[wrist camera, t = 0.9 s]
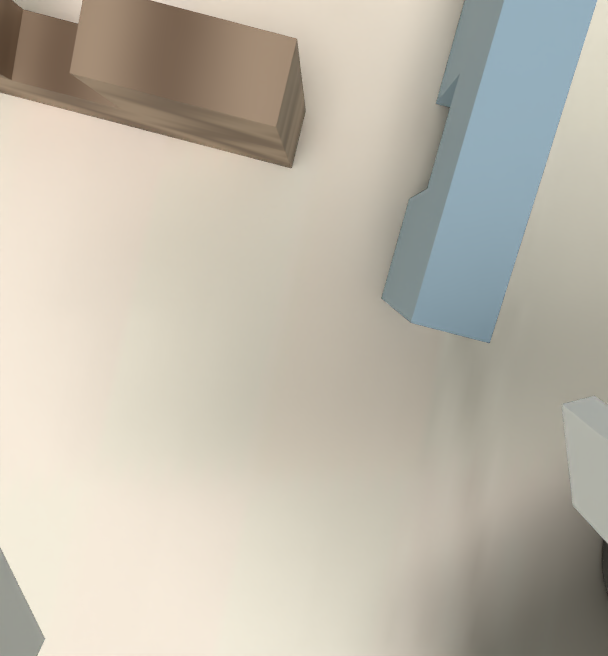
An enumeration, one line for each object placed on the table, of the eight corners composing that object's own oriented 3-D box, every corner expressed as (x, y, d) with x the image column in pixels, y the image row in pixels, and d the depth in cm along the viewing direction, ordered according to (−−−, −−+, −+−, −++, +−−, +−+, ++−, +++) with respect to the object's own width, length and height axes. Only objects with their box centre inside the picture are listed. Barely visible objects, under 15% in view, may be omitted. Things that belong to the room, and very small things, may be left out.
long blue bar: (523, 8, 28) (636, -126, 18) (434, 311, 30) (489, 343, 20) (466, -7, 28) (547, -150, 18) (381, 298, 30) (410, 322, 20)
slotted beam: (305, 111, 29) (297, 38, 19) (291, 168, 29) (275, 127, 19) (-65, 14, 29) (-269, -109, 19) (-73, 73, 29) (-277, -18, 19)
